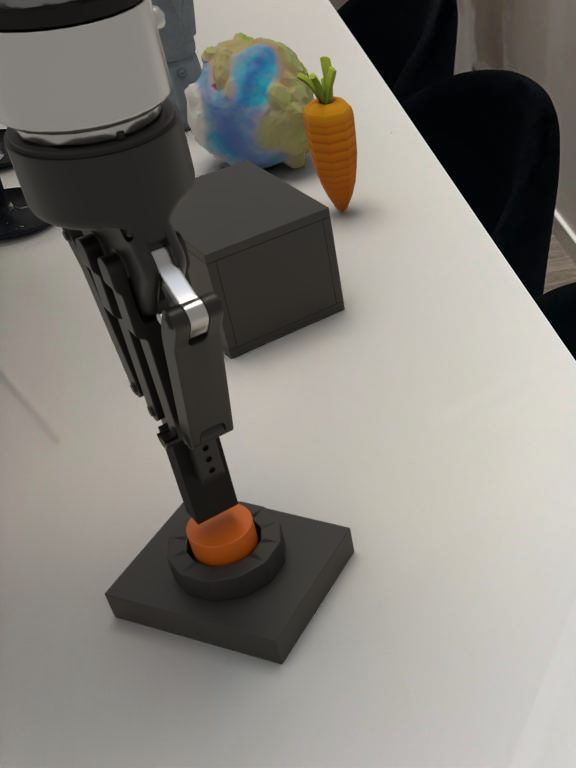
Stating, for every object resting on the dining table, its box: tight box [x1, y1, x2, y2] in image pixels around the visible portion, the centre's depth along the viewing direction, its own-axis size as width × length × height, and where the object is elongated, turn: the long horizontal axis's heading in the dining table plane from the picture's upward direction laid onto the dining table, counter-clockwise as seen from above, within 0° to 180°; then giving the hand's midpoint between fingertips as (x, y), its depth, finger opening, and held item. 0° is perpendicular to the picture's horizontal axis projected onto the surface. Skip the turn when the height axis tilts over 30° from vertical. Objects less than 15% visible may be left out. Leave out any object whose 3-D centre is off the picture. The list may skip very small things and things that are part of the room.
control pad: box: [104, 500, 355, 665], centre depth 61 cm, size 12×10×4 cm
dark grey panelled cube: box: [170, 160, 346, 359], centre depth 85 cm, size 14×12×10 cm
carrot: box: [297, 55, 358, 213], centre depth 96 cm, size 5×5×15 cm
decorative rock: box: [184, 31, 315, 170], centre depth 107 cm, size 14×16×15 cm
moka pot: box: [151, 0, 202, 132], centre depth 115 cm, size 10×15×20 cm, turn 57°
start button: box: [186, 504, 258, 567], centre depth 59 cm, size 4×4×2 cm
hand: (212, 507), depth 58 cm, fingers closed
